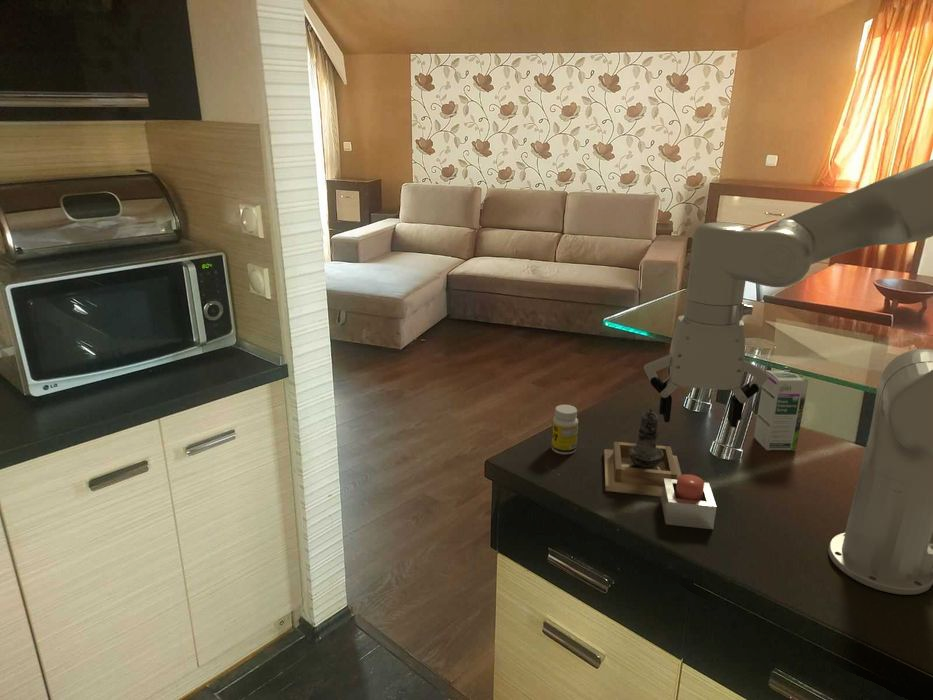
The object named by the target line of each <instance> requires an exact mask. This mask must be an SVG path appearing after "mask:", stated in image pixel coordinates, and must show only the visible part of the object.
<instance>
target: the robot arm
mask: <svg viewBox="0 0 933 700" xmlns="http://www.w3.org/2000/svg"><path fill="white" fill-rule="evenodd" d="M928 238H933V159H930V160H928V161H926V162H923V163H920V164H917V165H915V166H914V167H913V166H912V167H910V168H908V169H905V170H903V171H900V172H898V173H895V174H893V175H890V176H887V177H884V178H882V179H880V180H878V181H875V182H872V183H870V184H868V185H866V186H864V187H862V188H859V189H856V190H854V191H852V192H849V193H847V194H843V195H841V196H839V197H836V198H833V199H831V200H828V201H825V202H823V203H820V204H817V205H815V206H812V207H810V208H808V209H805V210H803V211H800V212H798V213H795V214H793V215H790V216H787V217H785V218H782V219H780V220H778V221H776V222H774V223H772V224H769V226H767V227H766V228H764V229H763V230H750V228H749V227H747V226H745V225H744V224H739V223H732V222H718V221H717V222H706V223H702V224H700V225H699V226H697V227H696V228H695V230H694V232H693V233H692V242H691V250H690V251H691V252H690V259H689V262H690V263H689V268H688V269H689V270H688V279H687V288H686V296H685V305H684V313H683V315H680V316H678V317H677V319H676V322H675V324H674V325H675V326H674V330H673V334H672V338H671V344H670V349H669V354H668V355H665V356H662V357H661V358H657V359H655V360H653V361H650V362H647V363H646V364H645V365H644V366H643V369H644V372H645V374H646V376H647V378H648V380H649V382H650V385H651V386H652V387H653V388H654V389H655V390H656V392H658V394H660V397H659V398H660V399H659V408H658V409H659V411H658V413H659V415H662V418H663V421H664V423H669V422H670V421H671V414H672V413H671V411H672V405H673V404H672V403H673V398H672V394H673V393H674V392H675V391H676V390H677V389H678V388H679V387H682V388H693V389H707V390H719V391H721V390H723V391H731V392H732V395H731V396H730V400H729V408H728V413H727V421H728V423H729V425H730V427H732V428H737V426H738V421H742V417H743V410H744V404H745V403H747V401H748V399H750V398H751V397H753V396H754V395H755V394H758V392H759V391H760V388H762V385H763V384H764V383H765V381H766V380H767V379H768V375H767V373H766V372H765V371H766V370H763V369H761V368H760V367H759V366H757V365H754V364H753V363H751V362H749V361H747V360H745V359H746V357H745V356H746V331H745V330H746V329H745V323H744V321H743V320H742V318H744V316H747V315H748V316H752V314H753V311H754V310H753V309H754V308H753V305H751V304H750V305H748V304H746V303H744V302H743V301H744V294H745V290H746V289H745V287H746V282H749V283H752V284H757V285H760V286H764V287H769V288H787V287H790V286H792V285H795V284H797V283H799V282H800V281H801V280H802V279H803V278H804V277H805V276H806V275H807V273H808V272H809V270H810V268H811V265H814V264H817V263H819V262H821V261H822V262H823V261H825V260H828V259H831V258H833V257H836V256H839V255H843V254H845V253H848V252H852V251H855V250H859V249H863V248H869V247H873V246H883V245H887V246H888V245H889V246H894V245H896V246H898V245H904V244H905V245H906V244H911V243H916V242H920V241H923V240H927V239H928ZM666 368H667V375H668V377H667V378H665V380H664V381H662V379H660V377H659V376H658V374H657V372H658V371H661V370H663V369H666ZM744 372H746V373H747V374H749V375H750V376H753V378H752V380H751V381H750V382H748V383H746V384H745V385H744V386H742V383H743V380H744V374H745V373H744ZM741 386H742V387H741ZM863 454H864V455H863V458H862V461H861V462H862V463H861V466H860V469H859V474H858V479H857V482H856V486H855V490H854V495H853V498H852V502H851V508H850V512H849V515H848V520H847V524H846V528H845V532H843V533H839V534H837V535H835V536H834V537H832V539H830V541H829V544H828V545H829V546H828V548H827V549H828V555H829V558H830V560H831V561H832V563H833V564H834V565H835V566H836V567H837V568H838V569H839V570H841V572H843V574H845V575H847V576H848V577H850V578H851V579H853V580H855V581H857V582H858V583H861V584H862V585H865V586H867V587H870V588H872V589H874V590H878V591H881V592H886V593H889V594H896V595H904V596H905V595H910V596H911V595H919V594H922V593H924V592H927V591H928V590H929V589H930V588H931V587H932V586H933V543H931V538H932V535H933V349H931V348H917V349H911V350H909V351H906V352H903V353H901V354H899V355H897V356H896V357H894V358H893V359H892V360H891V361H890V362H888V363H887V366H886V367H885V368H884V370H883V371H882V373H881V375H880V378H879V381H878V384H877V389H876V396H875V399H874V407H873V413H872V419H871V424H870V429H869V432H868V438H867V442H866V447H865V451H864V453H863Z"/></svg>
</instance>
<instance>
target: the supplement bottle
mask: <svg viewBox="0 0 933 700" xmlns="http://www.w3.org/2000/svg"><path fill="white" fill-rule="evenodd" d="M554 410H555V411H554V416H553V418H552V426H551V427H552V428H551V443H550V444H551V446H550V447H551V450H552V451H553V452H555V453H556V454H559V455H570V454H571V455H572V454H573V453H575V452H577V445H578V433H579V432H578V431H579V419H578V418H577V416H578V409H577V407H575V406H574V405H570V404H560V405H557V406H556V407H555V409H554Z"/></svg>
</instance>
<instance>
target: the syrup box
mask: <svg viewBox="0 0 933 700" xmlns="http://www.w3.org/2000/svg"><path fill="white" fill-rule="evenodd" d="M765 371H766V373H767V375H768V379H767V380H766V381H765V383H764V384H763V385H762V386H761V390H760V397H759V403H758V404H759V405H758V409H757V415H756V420H755V421H756V422H755V428H754V435H753V438H754V439H755V440H756V441H757V442H758V443H759V444H760V445H761V447H762V448H764V450H766V451H768V452H769V451H796V450H797V444H798V439H799V433H800V429H801V423H802V419H803V415H804V414H803V412H804V410H805V409H804V408H805V402H806V397H807V392H808V386H809V380H808V378H807V377H805V376H804V375H802V374H801V375H802V376H801V375H797V374H793V373H789V372H784V371H785V370H770V369H769V370H765Z"/></svg>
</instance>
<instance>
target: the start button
mask: <svg viewBox="0 0 933 700" xmlns="http://www.w3.org/2000/svg"><path fill="white" fill-rule="evenodd" d="M704 482H705V481H704V479H702V478H701V477H699V476H697V475H695V474H689V473H688V474H685V473H683V474H681V475H680V476H679V477H678V478H677V485H676V493H675V497H676V499H685V500H695V501H702V496H703V489H704Z"/></svg>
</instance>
